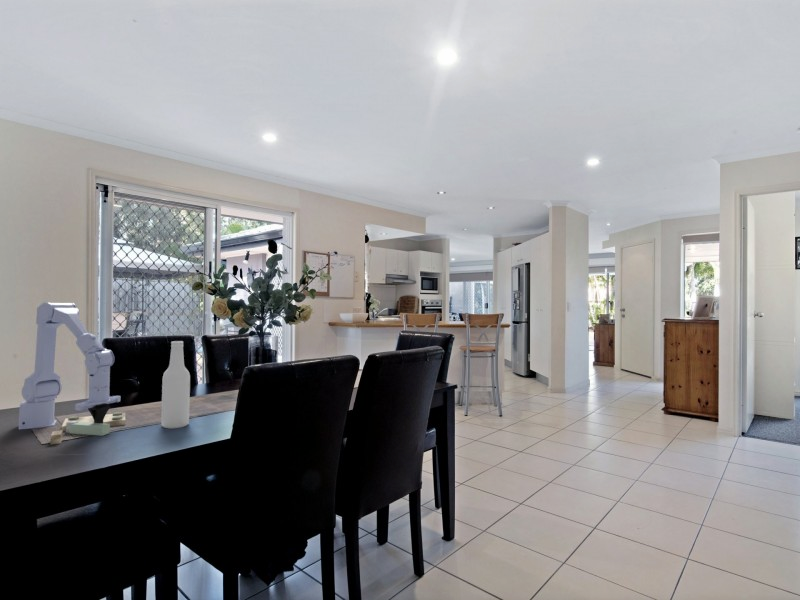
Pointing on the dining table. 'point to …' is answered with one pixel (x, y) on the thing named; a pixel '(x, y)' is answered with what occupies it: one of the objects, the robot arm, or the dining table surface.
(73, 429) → the hinged leg
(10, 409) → the dining table surface
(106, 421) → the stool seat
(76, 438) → the dining table surface
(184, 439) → the dining table surface
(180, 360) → the alcohol
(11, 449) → the dining table surface
